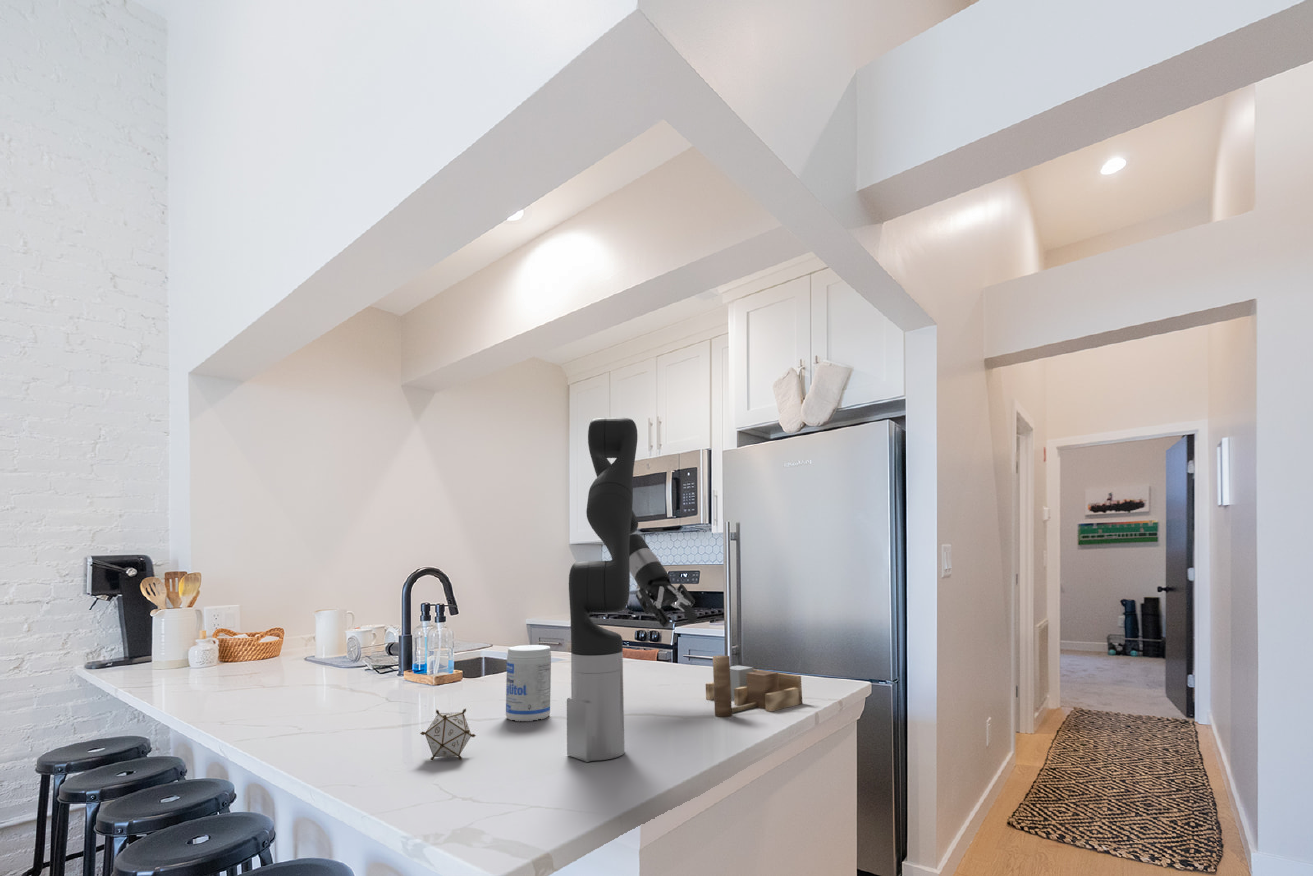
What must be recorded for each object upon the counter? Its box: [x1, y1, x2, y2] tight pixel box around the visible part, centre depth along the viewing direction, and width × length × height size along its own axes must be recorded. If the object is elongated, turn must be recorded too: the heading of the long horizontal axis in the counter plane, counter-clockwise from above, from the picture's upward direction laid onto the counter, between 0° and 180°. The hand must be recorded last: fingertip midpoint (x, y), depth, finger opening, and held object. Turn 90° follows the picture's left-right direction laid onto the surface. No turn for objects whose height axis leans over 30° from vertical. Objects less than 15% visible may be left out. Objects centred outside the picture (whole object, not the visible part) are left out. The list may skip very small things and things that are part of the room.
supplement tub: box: [505, 644, 552, 722], centre depth 154 cm, size 10×10×15 cm
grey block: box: [730, 664, 754, 701], centre depth 167 cm, size 5×5×7 cm
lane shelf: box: [705, 668, 803, 712], centre depth 163 cm, size 11×20×6 cm, turn 40°
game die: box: [419, 708, 477, 761], centre depth 124 cm, size 9×8×10 cm
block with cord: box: [712, 654, 779, 718], centre depth 155 cm, size 17×5×12 cm, turn 130°
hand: (681, 623), depth 161 cm, fingers open, 8 cm apart
